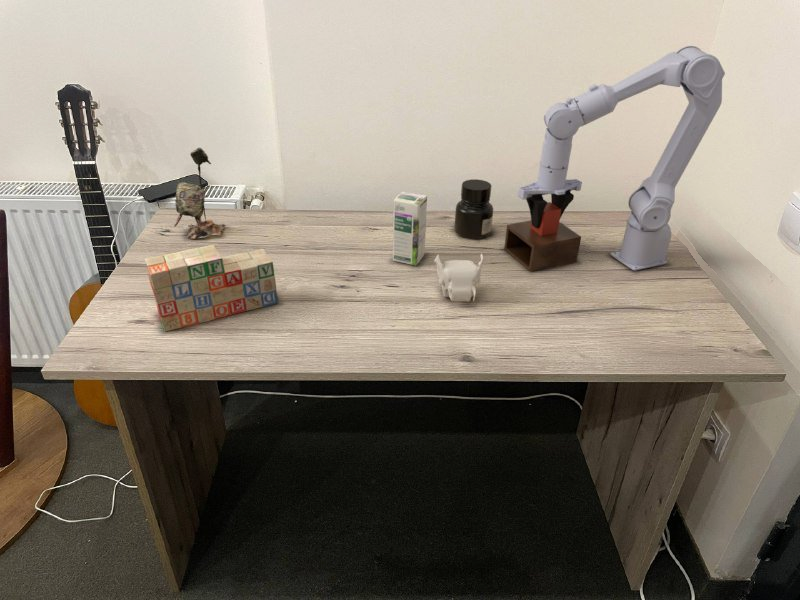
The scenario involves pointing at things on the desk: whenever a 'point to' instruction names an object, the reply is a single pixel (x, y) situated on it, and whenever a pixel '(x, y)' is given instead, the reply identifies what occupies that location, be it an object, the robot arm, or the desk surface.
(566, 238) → the brown open wooden box
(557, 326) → the desk surface
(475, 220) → the ink bottle
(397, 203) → the syrup box
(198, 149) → the brown bird figurine
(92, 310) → the desk surface
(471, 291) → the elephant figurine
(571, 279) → the desk surface
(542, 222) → the block
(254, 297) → the stack of blocks
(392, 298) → the desk surface
